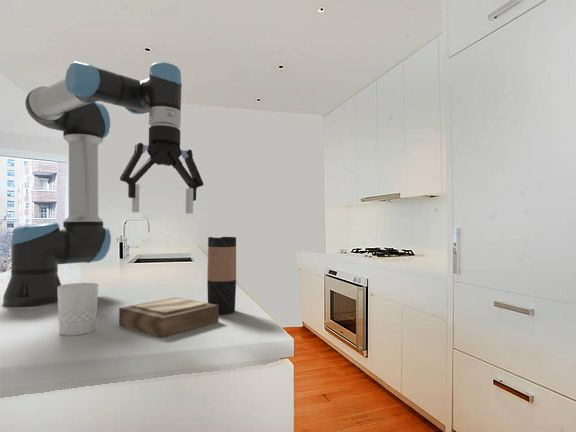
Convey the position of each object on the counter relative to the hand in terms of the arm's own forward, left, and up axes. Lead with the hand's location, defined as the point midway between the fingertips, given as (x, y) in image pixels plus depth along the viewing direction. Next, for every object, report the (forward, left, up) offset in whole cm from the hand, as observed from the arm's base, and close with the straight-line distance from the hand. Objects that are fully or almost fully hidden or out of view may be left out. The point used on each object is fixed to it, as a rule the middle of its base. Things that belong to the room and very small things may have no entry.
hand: (163, 213), depth 96 cm
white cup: (-5, -18, -26) cm, 32 cm away
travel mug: (+6, +14, -26) cm, 31 cm away
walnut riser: (+5, -2, -26) cm, 27 cm away
